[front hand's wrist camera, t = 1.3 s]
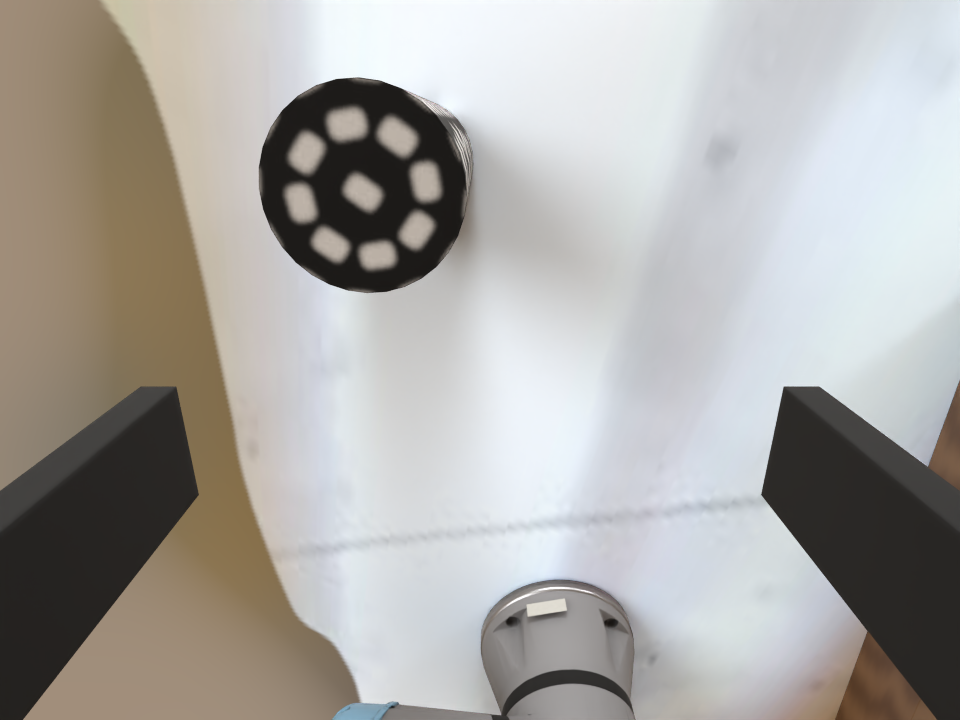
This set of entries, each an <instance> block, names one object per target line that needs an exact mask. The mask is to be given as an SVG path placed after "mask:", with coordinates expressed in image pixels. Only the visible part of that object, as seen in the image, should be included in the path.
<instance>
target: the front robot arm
mask: <svg viewBox="0 0 960 720" xmlns="http://www.w3.org/2000/svg"><path fill="white" fill-rule="evenodd" d="M198 495H199V494H198V489H197V484H196V479H195V475H194V470H193V465H192V460H191V455H190V451H189V446H188V441H187V436H186V431H185V427H184V422H183V417H182V412H181V407H180V403H179V398H178V393H177V388H176V387H140V388H138V389H137V390H136V391H134V392H133V393H132V394H130V395H129V396H128V397H126V398H125V399H123V400H122V401H121V402H119V403H118V404H117V405H115V406H114V407H113V408H111V409H110V410H109V411H107V412H106V413H105V414H103V415H102V416H101V417H99V418H98V419H96V420H95V421H94V422H92V423H91V424H90V425H88V426H87V427H86V428H84V429H83V430H82V431H80V432H79V433H78V434H76V435H75V436H74V437H72V438H71V439H70V440H68V441H67V442H66V443H64V444H63V445H61V446H60V447H59V448H57V449H56V450H55V451H53V452H52V453H51V454H49V455H48V456H47V457H45V458H44V459H43V460H41V461H40V462H38V463H37V464H36V465H35V466H33V467H32V468H30V469H29V470H28V471H26V472H25V473H24V474H22V475H21V476H20V477H18V478H17V479H16V480H14V481H13V482H12V483H10V484H9V485H8V486H6V487H5V488H3V489H2V490H1V491H0V720H23V719H24V718H25V716H26V715H27V714H28V713H29V711H30V710H31V709H32V707H33V706H34V705H35V704H36V702H37V701H38V700H39V698H40V697H41V696H42V695H43V693H44V692H45V691H46V689H47V688H48V687H49V686H50V684H51V683H52V682H53V681H54V679H55V678H56V677H57V675H58V674H59V673H60V672H61V670H62V669H63V668H64V666H65V665H66V664H67V663H68V661H69V660H70V659H71V658H72V656H73V655H74V654H75V652H76V651H77V650H78V648H79V647H80V646H81V645H82V643H83V642H84V641H85V640H86V638H87V637H88V636H89V635H90V633H91V632H92V631H93V629H94V628H95V627H96V625H97V624H98V623H99V622H100V620H101V619H102V618H103V617H104V615H105V614H106V613H107V611H108V610H109V609H110V608H111V606H112V605H113V604H114V603H115V601H116V600H117V599H118V597H119V596H120V595H121V594H122V592H123V591H124V590H125V588H126V587H127V586H128V585H129V583H130V582H131V581H132V580H133V578H134V577H135V576H136V574H137V573H138V572H139V571H140V569H141V568H142V567H143V565H144V564H145V563H146V562H147V560H148V559H149V558H150V556H151V555H152V554H153V553H154V551H155V550H156V549H157V548H158V546H159V545H160V544H161V542H162V541H163V540H164V539H165V537H166V536H167V535H168V533H169V532H170V531H171V530H172V528H173V527H174V526H175V525H176V523H177V522H178V521H179V519H180V518H181V517H182V516H183V514H184V513H185V512H186V510H187V509H188V508H189V507H190V505H191V504H192V503H193V501H194V500H195V499H196V498H197V496H198ZM761 495H762V496H763V498H764V499H765V500H766V502H767V503H768V504H769V505H770V507H771V508H772V509H773V510H774V512H775V513H776V514H777V516H778V517H779V518H780V519H781V521H782V522H783V523H784V525H785V526H786V527H787V528H788V530H789V531H790V532H791V533H792V535H793V536H794V537H795V539H796V540H797V541H798V542H799V544H800V545H801V546H802V548H803V549H804V550H805V551H806V553H807V554H808V555H809V556H810V558H811V559H812V560H813V562H814V563H815V564H816V565H817V567H818V568H819V569H820V571H821V572H822V573H823V574H824V576H825V577H826V578H827V580H828V581H829V582H830V583H831V585H832V586H833V587H834V588H835V590H836V591H837V592H838V594H839V595H840V596H841V597H842V599H843V600H844V601H845V603H846V604H847V605H848V606H849V608H850V609H851V610H852V611H853V613H854V614H855V615H856V617H857V618H858V619H859V620H860V622H861V623H862V624H863V626H864V627H865V628H866V629H867V631H868V632H869V633H870V635H871V636H872V637H873V638H874V640H875V641H876V642H877V643H878V645H879V646H880V647H881V649H882V650H883V651H884V652H885V654H886V655H887V656H888V658H889V659H890V660H891V661H892V663H893V664H894V665H895V666H896V668H897V669H898V670H899V672H900V673H901V674H902V675H903V677H904V678H905V679H906V681H907V682H908V683H909V684H910V686H911V687H912V688H913V690H914V691H915V692H916V693H917V695H918V696H919V697H920V698H921V700H922V701H923V702H924V704H925V705H926V706H927V707H928V709H929V710H930V711H931V713H932V714H933V715H934V716H935V718H936V719H937V720H960V491H959V490H958V489H957V488H955V487H954V486H953V485H951V484H950V483H948V482H947V481H946V480H944V479H943V478H942V477H940V476H939V475H938V474H936V473H935V472H934V471H932V470H931V469H930V468H928V467H927V466H926V465H924V464H923V463H922V462H920V461H919V460H917V459H916V458H915V457H913V456H912V455H911V454H909V453H908V452H907V451H905V450H904V449H903V448H901V447H900V446H899V445H897V444H896V443H895V442H893V441H892V440H890V439H889V438H888V437H886V436H885V435H884V434H882V433H881V432H880V431H878V430H877V429H876V428H874V427H873V426H872V425H870V424H869V423H868V422H866V421H865V420H864V419H862V418H861V417H859V416H858V415H857V414H855V413H854V412H853V411H851V410H850V409H849V408H847V407H846V406H845V405H843V404H842V403H841V402H839V401H838V400H837V399H835V398H834V397H833V396H831V395H830V394H828V393H827V392H826V391H824V390H823V389H822V388H820V387H784V388H783V393H782V398H781V403H780V407H779V412H778V417H777V422H776V427H775V431H774V436H773V441H772V446H771V451H770V455H769V460H768V465H767V470H766V475H765V479H764V484H763V489H762V494H761ZM481 655H482V660H483V665H484V669H485V672H486V674H487V677H488V679H489V682H490V685H491V687H492V690H493V692H494V695H495V698H496V700H497V703H498V706H499V708H500V711H501V715H491V714H483V713H473V712H464V711H454V710H445V709H436V708H426V707H417V706H407V705H399V703H398V702H389V703H388V704H367V703H354V704H350V705H347V706H345V707H344V708H342V709H341V710H340V711H339V712H338V713H337V714H336V715H335V716H334V718H333V719H332V720H635V717H634V713H633V709H632V705H631V701H630V696H631V684H632V672H633V661H634V641H633V634H632V631H631V627H630V624H629V621H628V618H627V615H626V613H625V611H624V610H623V608H622V607H621V606H620V604H619V603H618V602H617V601H616V600H615V599H614V598H613V597H611V596H610V595H609V594H607V593H606V592H604V591H602V590H600V589H598V588H596V587H594V586H591V585H588V584H585V583H581V582H577V581H570V580H549V581H542V582H537V583H533V584H529V585H526V586H524V587H521V588H519V589H517V590H515V591H513V592H511V593H510V594H508V595H506V596H505V597H504V598H502V599H501V600H500V601H499V602H498V603H497V604H496V605H495V606H494V607H493V608H492V609H491V611H490V612H489V614H488V615H487V617H486V619H485V621H484V624H483V627H482V632H481Z"/></svg>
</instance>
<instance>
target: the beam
mask: <svg viewBox="0 0 960 720" xmlns="http://www.w3.org/2000/svg"><path fill="white" fill-rule="evenodd" d="M928 468H930V469H931V470H932V471H934V472H935V473H936V474H938V475H939V476H940V477H942V478H943V479H944V480H946V481H947V482H948V483H950V484H951V485H953V486H954V487H955V488H957V489H958V490H959V491H960V381H959V384H958V387H957V390H956V392H955V395H954V398H953V400H952V403H951V406H950V409H949V411H948V414H947V417H946V420H945V422H944V425H943V428H942V430H941V433H940V436H939V439H938V441H937V444H936V447H935V450H934V452H933V455H932V458H931V460H930V463H929V466H928ZM835 720H937V719H936V718H935V716H934V715H933V714H932V713H931V711H930V710H929V709H928V707H927V706H926V705H925V704H924V702H923V701H922V700H921V698H920V697H919V696H918V695H917V693H916V692H915V691H914V690H913V688H912V687H911V686H910V684H909V683H908V682H907V681H906V679H905V678H904V677H903V675H902V674H901V673H900V672H899V670H898V669H897V668H896V666H895V665H894V664H893V663H892V661H891V660H890V659H889V658H888V656H887V655H886V654H885V652H884V651H883V650H882V649H881V647H880V646H879V645H878V643H877V642H876V641H875V640H874V638H873V637H872V636H871V635H870V633H869V632H867V635H866V638H865V640H864V643H863V646H862V649H861V651H860V654H859V657H858V659H857V662H856V665H855V668H854V670H853V673H852V676H851V679H850V681H849V684H848V687H847V689H846V692H845V695H844V698H843V700H842V703H841V706H840V709H839V711H838V714H837V717H836V719H835Z"/></svg>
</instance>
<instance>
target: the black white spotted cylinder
mask: <svg viewBox="0 0 960 720" xmlns="http://www.w3.org/2000/svg"><path fill="white" fill-rule="evenodd" d="M472 170H473V153H472V148H471V144H470V140H469V138H468V136H467V134H466V132H465V130H464V128H463V127H462V125H461V124H460V123H459V121H458V120H457V119H456V118H455V117H454V116H453V115H452V114H451V113H450V112H449V111H448V110H446V109H444V108H443V107H441V106H440V105H438V104H436V103H433V102H431V101H429V100H426V99H424V98H422V97H420V96H417V95H415V94H413V93H410V92H408V91H406V90H404V89H401V88H399V87H396V86H393V85H391V84H388V83H385V82H382V81H379V80H372V79H365V78H344V79H335V80H332V81H329V82H325V83H322V84H319V85H316V86H314V87H312V88H311V89H309V90H307V91H305V92H304V93H302V94H300V95H298V96H297V97H296V98H295V99H294V100H293V101H292V102H291V103H290V104H289V105H288V106H286V107H285V108H284V109H283V110H282V112H281V113H280V115H279V116H278V117H277V119H276V120H275V122H274V123H273V125H272V126H271V128H270V130H269V133H268V135H267V138H266V140H265V143H264V145H263V148H262V153H261V159H260V164H259V191H260V196H261V201H262V206H263V210H264V213H265V215H266V218H267V220H268V223H269V225H270V228H271V230H272V231H273V233H274V235H275V236H276V238H277V240H278V241H279V243H280V244H281V246H282V247H283V249H284V250H285V251H286V252H287V253H288V254H289V255H290V256H291V257H292V259H293V260H294V261H295V262H296V263H297V264H299V265H300V266H301V267H302V268H304V269H305V270H306V271H307V272H309V273H310V274H311V275H313V276H315V277H317V278H318V279H320V280H322V281H324V282H326V283H328V284H330V285H333V286H336V287H339V288H342V289H345V290H348V291H356V292H364V293H374V292H387V291H391V290H395V289H398V288H402V287H405V286H407V285H409V284H411V283H413V282H415V281H417V280H420V279H421V278H423V277H424V276H425V275H427V274H428V273H429V272H430V271H432V270H433V269H434V268H436V267H437V266H438V264H439V263H440V262H441V261H442V260H443V259H444V257H445V256H446V255H447V254H448V253H449V251H450V249H451V247H452V246H453V244H454V242H455V240H456V238H457V237H458V234H459V231H460V228H461V225H462V222H463V219H464V215H465V210H466V204H467V199H468V194H469V188H470V183H471V177H472Z"/></svg>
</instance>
